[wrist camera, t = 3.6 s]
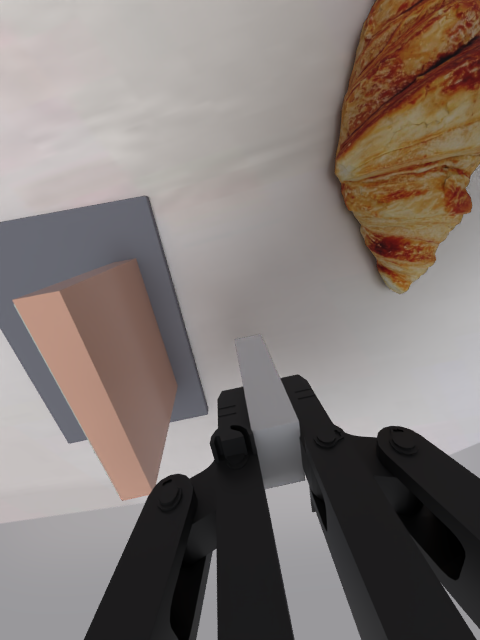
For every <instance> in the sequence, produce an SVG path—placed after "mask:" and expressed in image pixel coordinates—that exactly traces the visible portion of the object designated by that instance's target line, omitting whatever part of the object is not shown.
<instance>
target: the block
mask: <svg viewBox="0 0 480 640" xmlns="http://www.w3.org/2000/svg"><path fill="white" fill-rule="evenodd" d="M12 301H13V303H14V306H15V308H16V310H17V312H18V314H19V315H20V317H21V319H22V321H23V323H24V324H25V326H26V328H27V330H28V332H29V334H30V335H31V337H32V339H33V341H34V343H35V344H36V346H37V348H38V350H39V352H40V354H41V355H42V357H43V359H44V361H45V363H46V364H47V366H48V368H49V370H50V372H51V374H52V375H53V377H54V379H55V381H56V383H57V385H58V386H59V388H60V390H61V392H62V394H63V395H64V397H65V399H66V401H67V403H68V405H69V406H70V408H71V410H72V412H73V414H74V415H75V417H76V419H77V421H78V423H79V425H80V426H81V428H82V430H83V432H84V434H85V436H86V437H87V439H88V441H89V443H90V445H91V446H92V448H93V450H94V452H95V454H96V456H97V457H98V459H99V461H100V463H101V465H102V466H103V468H104V470H105V472H106V474H107V476H108V477H109V479H110V481H111V483H112V485H113V486H114V488H115V490H116V492H117V494H118V496H120V498H121V500H122V501H123V500H128V499H132V498H137V497H141V496H146V495H149V494H150V493H151V491H152V490H153V488H154V487H155V486H156V481H157V477H158V472H159V468H160V463H161V459H162V454H163V450H164V445H165V441H166V436H167V432H168V427H169V423H170V418H171V414H172V410H173V405H174V401H175V396H176V392H177V387H178V385H177V382H176V379H175V376H174V373H173V370H172V367H171V364H170V361H169V358H168V355H167V352H166V349H165V346H164V343H163V340H162V336H161V333H160V330H159V327H158V324H157V321H156V318H155V315H154V312H153V309H152V306H151V303H150V300H149V297H148V294H147V291H146V287H145V284H144V281H143V278H142V275H141V272H140V269H139V266H138V263H137V260H136V258H135V259H129V260H124V261H119V262H113V263H110V264H108V265H105V266H102V267H99V268H97V269H94V270H91V271H89V272H86V273H83V274H81V275H78V276H75V277H73V278H70V279H67V280H64V281H62V282H59V283H56V284H54V285H51V286H48V287H46V288H43V289H40V290H38V291H35V292H32V293H29V294H27V295H24V296H21V297H19V298H16V299H13V300H12Z"/></svg>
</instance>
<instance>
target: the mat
mask: <svg viewBox="0 0 480 640" xmlns="http://www.w3.org/2000/svg"><path fill="white" fill-rule="evenodd" d="M135 258H136V260H137V263H138V266H139V269H140V272H141V275H142V278H143V281H144V284H145V287H146V291H147V294H148V297H149V300H150V303H151V306H152V309H153V312H154V315H155V318H156V321H157V324H158V327H159V330H160V333H161V336H162V340H163V343H164V346H165V349H166V352H167V355H168V358H169V361H170V364H171V367H172V370H173V373H174V376H175V379H176V382H177V385H178V387H177V392H176V396H175V401H174V405H173V410H172V414H171V418H170V422H174V421H179V420H183V419H188V418H193V417H198V416H202V415H207V414H208V407H207V403H206V400H205V396H204V393H203V389H202V386H201V382H200V378H199V375H198V371H197V368H196V364H195V361H194V357H193V354H192V350H191V347H190V343H189V339H188V336H187V332H186V329H185V325H184V322H183V318H182V315H181V311H180V308H179V304H178V301H177V297H176V293H175V290H174V286H173V283H172V279H171V276H170V272H169V269H168V265H167V262H166V258H165V254H164V251H163V247H162V244H161V240H160V237H159V233H158V230H157V226H156V223H155V219H154V215H153V212H152V208H151V205H150V201H149V198H148V197H147V196H141V197H136V198H130V199H125V200H119V201H114V202H108V203H103V204H97V205H92V206H86V207H81V208H75V209H70V210H65V211H59V212H54V213H48V214H43V215H37V216H32V217H26V218H21V219H15V220H10V221H4V222H0V329H1V330H2V332H3V334H4V335H5V337H6V339H7V340H8V342H9V344H10V345H11V347H12V349H13V350H14V352H15V354H16V356H17V357H18V359H19V361H20V362H21V364H22V366H23V367H24V369H25V371H26V372H27V374H28V376H29V377H30V379H31V381H32V383H33V384H34V386H35V388H36V389H37V391H38V393H39V394H40V396H41V398H42V399H43V401H44V403H45V404H46V406H47V408H48V409H49V411H50V413H51V415H52V416H53V418H54V420H55V421H56V423H57V425H58V426H59V428H60V430H61V431H62V433H63V435H64V436H65V438H66V440H67V441H68V443H74V442H79V441H84V440H88V439H87V437H86V436H85V434H84V432H83V430H82V428H81V426H80V425H79V423H78V421H77V419H76V417H75V415H74V414H73V412H72V410H71V408H70V406H69V405H68V403H67V401H66V399H65V397H64V395H63V394H62V392H61V390H60V388H59V386H58V385H57V383H56V381H55V379H54V377H53V375H52V374H51V372H50V370H49V368H48V366H47V364H46V363H45V361H44V359H43V357H42V355H41V354H40V352H39V350H38V348H37V346H36V344H35V343H34V341H33V339H32V337H31V335H30V334H29V332H28V330H27V328H26V326H25V324H24V323H23V321H22V319H21V317H20V315H19V314H18V312H17V310H16V308H15V306H14V303H13V301H12V300H13V299H16V298H19V297H21V296H24V295H27V294H29V293H32V292H35V291H38V290H40V289H43V288H46V287H48V286H51V285H54V284H56V283H59V282H62V281H64V280H67V279H70V278H73V277H75V276H78V275H81V274H83V273H86V272H89V271H91V270H94V269H97V268H99V267H102V266H105V265H108V264H110V263H113V262H119V261H124V260H129V259H135Z"/></svg>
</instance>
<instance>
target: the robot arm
mask: <svg viewBox="0 0 480 640" xmlns="http://www.w3.org/2000/svg"><path fill="white" fill-rule="evenodd" d="M235 345H236V350H237V355H238V361H239V366H240V371H241V377H242V382H243V387H240V388H235V389H230V390H225V391H222V392H221V394H220V396H219V398H218V429H217V430H216V431H215V432H214V434H213V435H212V436H211V441H210V446H211V449H212V453H213V456H214V459H215V460H214V461H213V463H212V464H211V465H210V466H209V467H208V468H207V469H205V470H204V471H202V472H201V473H199V474H197V475H195V476H194V477H192V478H190V479H189V478H188V477H187V476H186V475H182V474H174V475H170V476H168V477H166V478H164V479H162V480H161V481H160V482H159V483H158V484H157V485H156V486H155V487H154V488H153V490H152V491H151V493H150V494H149V496H148V498H147V500H146V503H145V505H144V507H143V509H142V512H141V514H140V516H139V518H138V521H137V523H136V525H135V527H134V529H133V532H132V534H131V536H130V538H129V541H128V543H127V545H126V547H125V549H124V552H123V554H122V556H121V558H120V560H119V563H118V565H117V567H116V569H115V572H114V574H113V576H112V578H111V580H110V583H109V585H108V587H107V589H106V591H105V594H104V596H103V598H102V601H101V603H100V605H99V607H98V609H97V611H96V614H95V616H94V619H93V620H92V623H91V625H90V627H89V629H88V631H87V634H86V636H85V638H84V640H196V637H197V632H198V626H199V621H200V615H201V610H202V605H203V599H204V594H205V589H206V584H207V578H208V573H209V568H210V562H211V557H212V551H213V550H215V549H216V548H217V611H218V612H217V617H218V640H294V635H293V630H292V625H291V619H290V615H289V609H288V605H287V599H286V595H285V589H284V584H283V579H282V574H281V569H280V564H279V559H278V554H277V549H276V544H275V539H274V533H273V529H272V523H271V518H270V513H269V508H268V503H267V499H266V493H265V489H268V488H273V487H277V486H282V485H286V484H290V483H295V482H300V481H304V480H305V475H306V478H307V480H308V483H309V488H310V497H311V506H312V512H316V513H317V516H318V519H319V522H320V524H321V527H322V530H323V533H324V535H325V538H326V541H327V544H328V547H329V550H330V553H331V555H332V558H333V561H334V564H335V567H336V569H337V572H338V575H339V578H340V581H341V583H342V586H343V589H344V592H345V595H346V598H347V600H348V603H349V606H350V609H351V611H352V615H353V617H354V620H355V623H356V625H357V629H358V631H359V634H360V637H361V640H476V638H475V637H474V635H473V633H472V632H471V630H470V629H469V627H468V625H467V624H466V622H465V621H464V619H463V618H462V616H461V614H460V613H459V611H458V610H457V608H456V606H455V605H454V604H453V602H452V600H451V599H450V597H449V595H448V594H447V592H446V591H445V589H444V588H443V586H444V587H445V588H446V589H447V591H448V592H449V593H450V594H451V595H452V597H453V598H454V599H455V600H456V601H457V603H458V604H459V605H460V606H461V607H462V609H463V610H464V611H465V612H466V613H467V615H468V616H469V617H470V618H471V619H472V620H473V622H474V623H475V624H476V625H477V626H478V628H479V629H480V478H478V477H477V476H476V475H474V474H473V473H471V472H470V471H469V470H467V469H466V468H465V467H463V466H462V465H460V464H459V463H458V462H456V461H455V460H454V459H452V458H451V457H450V456H448V455H447V454H445V453H444V452H443V451H441V450H440V449H439V448H437V447H436V446H435V445H433V444H432V443H430V442H429V441H428V440H426V439H425V438H424V437H422V436H421V435H419V434H418V433H416V432H414V431H412V430H410V429H407V428H404V427H400V426H389V427H385V428H383V429H382V430H381V431H379V432H378V436H377V438H375V437H360V436H354V435H350V434H347V433H345V432H344V431H343V430H342V429H341V428H339V427H338V426H336V425H334V424H333V423H332V421H331V420H330V418H329V416H328V415H327V413H326V411H325V410H324V408H323V406H322V405H321V403H320V401H319V400H318V398H317V396H316V395H315V393H314V391H313V390H312V388H311V386H310V385H309V383H308V381H307V380H306V379H304V378H303V377H301V376H300V375H293V376H289V377H284V378H280V377H279V375H278V372H277V370H276V368H275V365H274V363H273V361H272V358H271V356H270V354H269V352H268V349H267V347H266V345H265V342H264V340H263V338H262V336H261V334H259V335H254V336H249V337H244V338H239V339H235ZM304 472H305V473H304ZM440 582H441V583H440ZM442 585H443V586H442Z"/></svg>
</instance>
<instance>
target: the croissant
mask: <svg viewBox="0 0 480 640" xmlns="http://www.w3.org/2000/svg"><path fill="white" fill-rule="evenodd" d="M479 164H480V0H376V2H375V3H374V5H373V6H372V8H371V11H370V13H369V15H368V17H367V19H366V21H365V22H364V25H363V28H362V31H361V36H360V41H359V45H358V48H357V51H356V59H355V62H354V67H353V71H352V74H351V77H350V80H349V86H348V92H347V94H346V95H345V97H344V101H343V106H342V119H341V128H340V137H339V143H338V147H337V152H336V159H335V175H336V176H337V177H338V178H339V180H340V182H341V193H342V195H343V198H344V202H345V205H346V207H347V208H348V210H349V211H352V212H353V214H354V216H355V218H357V220H358V221H359V222H360V224H361V227H360V231H361V234H362V236H363V237H364V239H365V245H366V246H367V247H368V248H369V250H370V251H371V252H372V253H373V255H374V256H375V258H376V259H377V269H378V271H379V273H380V275H381V277H382V279H383V281H384V282H385V284H386V285H387V286H388V287H389V289H391V290H392V291H394V292H396V293H398V294H402V293H404V292H406V291H407V290H408V289H409V287H410V284H411V283H412V282H414V281H416V280H417V279H418V278H419V277H420V276H421V275H423V274H424V273H425V272H426V271H427V270H428V267H431V266H432V265H433V264H434V262H435V261H436V256H435V253H436V249H437V247H438V245H439V243H441V242H442V241H444V240H445V239H446V237H447V236H448V234H449V232H450V231H452V230H453V229H454V227H455V226H456V225H457V224H459V223H460V222H461V219H462V217H463V214H467V213H470V212H471V209H472V202H471V197H470V196H469V194H468V193H467V191H466V187H467V186H468V184H469V182H470V176H471V174H472V173H473V172H474V170H475V169H476V168H477V166H478V165H479Z"/></svg>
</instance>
